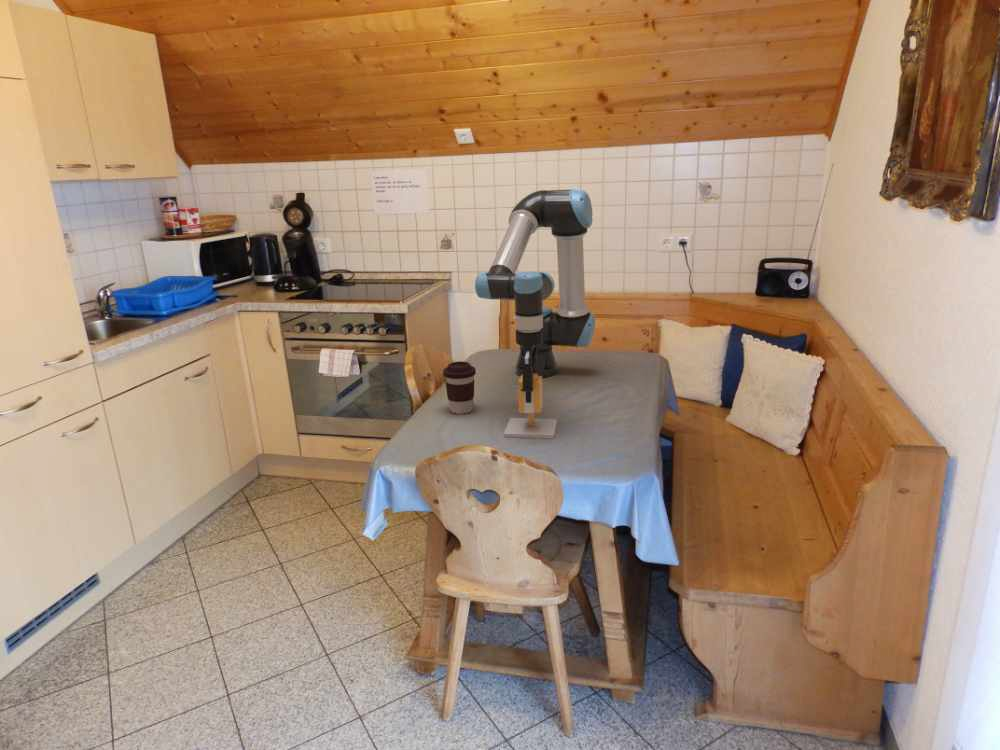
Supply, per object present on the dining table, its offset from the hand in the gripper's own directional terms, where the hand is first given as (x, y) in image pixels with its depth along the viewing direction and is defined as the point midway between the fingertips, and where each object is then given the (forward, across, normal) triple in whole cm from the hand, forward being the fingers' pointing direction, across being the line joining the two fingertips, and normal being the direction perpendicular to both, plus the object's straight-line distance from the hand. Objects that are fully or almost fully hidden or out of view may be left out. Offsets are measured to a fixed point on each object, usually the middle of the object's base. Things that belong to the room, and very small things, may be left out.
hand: (530, 408), depth 192 cm
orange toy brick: (0, 0, 0) cm, 0 cm away
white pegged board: (+7, 0, 0) cm, 7 cm away
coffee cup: (+7, -14, -24) cm, 28 cm away
